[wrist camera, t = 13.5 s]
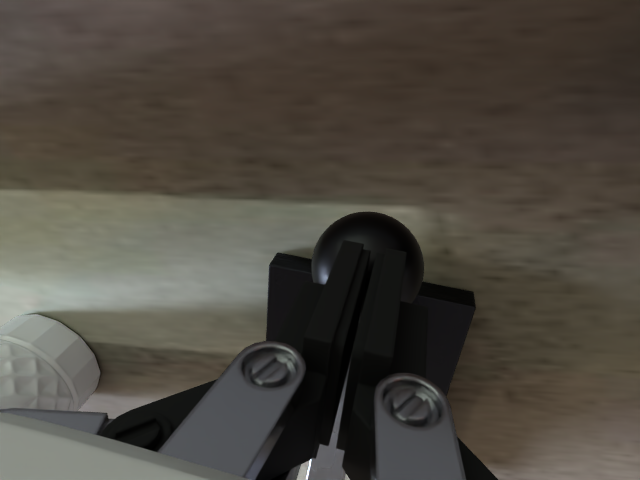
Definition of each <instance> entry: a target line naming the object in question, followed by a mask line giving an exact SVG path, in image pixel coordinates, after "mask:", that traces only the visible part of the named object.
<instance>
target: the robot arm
mask: <svg viewBox="0 0 640 480" xmlns="http://www.w3.org/2000/svg"><path fill="white" fill-rule="evenodd" d="M363 248H364V244H362V243H357V242H352V241H347V240H343V242H342V245H341V247H340V250H339V252H338V254H337V257H336V259H335V262H334V264H333V267H332V269H331V271H330V274H329V276H328V279H327V281H326V284H325V285H324V284H319V283H314V282H310V281H304V282H303V284H302V286H301V288H300V290H299V292H298V294H297V296H296V298H295V300H294V302H293V304H292V306H291V308H290V310H289V312H288V314H287V316H286V318H285V320H284V322H283V324H282V326H281V328H280V330H279V332H278V334H277V336H276V338H275V340H274V341H263V342H259V343H254V344H252V345H250V346H248V347H246V348H245V349H244V350H243V351H241V352H240V353H239V354H238V355H237V357H236V358H235V359H234V360H233V361H232V363H231V364H230V365H229V366H228V367H227V369H226V370H225V371H224V372H223V373H222V375H221V376H220V377H219V378H218V379H217V380H214V381H211V382H208V383H205V384H203V385H200V386H197V387H194V388H191V389H189V390H186V391H183V392H180V393H177V394H175V395H172V396H169V397H166V398H163V399H161V400H158V401H155V402H152V403H150V404H147V405H144V406H141V407H138V408H136V409H133V410H130V411H128V412H126V413H124V414H122V415H120V416H118V417H117V418H116V419H108V415H107V413H99V412H80V411H62V410H43V409H25V408H9V409H0V480H292V479H293V477H294V473H295V470H296V467H297V466H298V465H300V464H302V463H304V462H306V461H308V460H310V459H312V458H314V459H316V457H317V453H318V449H319V446H320V444H321V445H325V446H329V443H330V439H331V435H332V431H333V427H334V423H335V419H336V415H337V411H338V407H339V403H340V399H341V395H342V391H343V387H344V383H345V379H346V375H347V371H348V367H349V363H350V367H349V373H348V379H347V385H346V391H345V397H344V403H343V409H342V415H341V421H340V427H339V433H338V439H337V445H336V449H340V450H343V451H344V457H343V462H342V468H343V469H344V471H345V472H346V474H347V475H348V477H349V478H350V480H498V479H497V478H496V477H495V476H494V475H493V474H492V473H491V472H490V471H489V470H488V469H487V467H486V466H485V465H484V464H483V463H482V462H481V461H480V460H479V459H478V458H477V457H476V456H475V455H474V454H473V453H472V452H471V451H470V450H469V449H468V448H467V446H466V445H465V444H464V443H463V442H462V441H461V440H460V439H459V438H458V437H457V435H456V430H455V426H454V421H453V416H452V412H451V407H450V404H449V402H448V399H447V397H446V396H445V394H444V393H443V392H442V390H441V389H440V388H439V387H438V386H436V385H435V384H434V383H433V382H431V381H430V380H428V379H426V360H427V330H428V307H427V306H422V305H417V304H413V303H408V302H403V301H400V300H401V293H402V285H403V277H404V269H405V262H406V254H407V252H403V251H398V250H393V249H388V248H386V251H385V253H380V252H377V254H376V258H375V262H374V266H373V270H372V274H371V278H370V282H369V286H368V290H367V294H366V298H365V302H364V306H363V310H362V313H361V317H360V311H361V306H362V300H363V294H364V288H365V282H366V276H367V270H368V265H369V259H370V252H371V251H370V250H365V249H363ZM359 317H360V321H359ZM358 323H359V325H358ZM351 355H352V356H351ZM350 359H351V361H350Z"/></svg>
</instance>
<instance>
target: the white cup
mask: <svg viewBox="0 0 640 480" xmlns="http://www.w3.org/2000/svg"><path fill="white" fill-rule="evenodd" d="M100 373H101V372H100V369H99V366H98V363H97V360H96V357H95V355H94V353H93V352H92V351H91V349H90V348H89V347H88V346H87V344H86V343H85V342H84V341H83V340H82V338H81V337H80V336H79V335H77V334H76V333H75V332H73V331H72V330H71V329H69V328H68V327H66V326H65V325H63V324H62V323H60V322H59V321H56V320H53V319H50V318H47V317H44V316H41V315H38V314H30V315H18V316H16V317H14V318H13V319H11V320H10V321H8V322H7V323H5V324H4V325H2V326H1V327H0V409H9V408H25V409H43V410H62V411H78V410H79V409H80V408H81V406H82V405H83V404H84V403H85V402H86V400H87V399H88V398H89V397H90V396H91V394H92V393H93V392H94V391H95V389H96V388H97V385H98V381H99V377H100Z"/></svg>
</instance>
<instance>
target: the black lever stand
mask: <svg viewBox="0 0 640 480" xmlns="http://www.w3.org/2000/svg"><path fill="white" fill-rule="evenodd" d="M311 263H312V259H307V258H302V257H297V256H292V255H288V254H283V253H277V254H276V255H275V257H274V258H273V260H272V262H271V263H270V265H269V282H268V307H267V332H266V341H274V340H275V338H276V336H277V334H278V332H279V330H280V328H281V326H282V324H283V322H284V320H285V318H286V316H287V314H288V312H289V310H290V308H291V306H292V304H293V302H294V300H295V298H296V296H297V294H298V292H299V290H300V288H301V286H302V284H303V282H304V281H310V282H313V279H312V271H311ZM412 303H413V304H417V305H422V306H427V307H428V330H427V360H426V379H428V380H430V381H431V382H433V383H434V384H435V385H436V386H438V387H439V388H440V389H441V390H442V392H443V393H444V394H445V396H447V393H448V390H449V387H450V383H451V380H452V377H453V374H454V371H455V368H456V365H457V362H458V359H459V356H460V353H461V350H462V347H463V344H464V341H465V338H466V335H467V332H468V329H469V326H470V323H471V320H472V317H473V314H474V311H475V308H476V307H475V300H474V293H473V292H471V291H466V290H461V289H456V288H451V287H446V286H441V285H436V284H431V283H427V282H422V285H421V288H420V290H419V293H418V294H417V296H416V298H415V300H414V301H413V302H412ZM300 466H301V464H300V465H298V466H297V467H296V470H295V473H294V477H293V479H292V480H296V479H297V476H298V473H299V469H300Z"/></svg>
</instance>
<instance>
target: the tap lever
mask: <svg viewBox="0 0 640 480" xmlns="http://www.w3.org/2000/svg"><path fill="white" fill-rule="evenodd" d="M343 240H347V241H352V242H357V243H362V244H364V248H363V249H365V250H370V251H371V252H370V259H369V265H368V270H367V276H366V282H365V288H364V294H363V300H362V306H361V311H360V317H361V313H362V310H363V306H364V302H365V298H366V294H367V290H368V286H369V282H370V278H371V274H372V270H373V266H374V262H375V258H376V254H377V252H380V253H385V251H386V248H388V249H393V250H398V251H403V252H407V254H406V262H405V269H404V277H403V285H402V293H401V300H400V301H403V302H408V303H412V302H413V301H414V300H415V298H416V296H417V294H418V293H419V290H420V288H421V285H422V281H423V275H424V261H423V255H422V252H421V249H420V246H419V244H418V242H417V240H416V239H415V237H414V235H413V234H412V233H411V232H410V230H409V229H408V228H406V227H405V226H404V225H403V224H402V223H400V222H399V221H398V220H396V219H394V218H392V217H390V216H388V215H385V214H381V213H377V212H358V213H353V214H350V215H347V216H345V217H342V218H340V219H339V220H337V221H335V222H334V223H333V224H332V225H330V226H329V227H328V228H327V229H326V230H325V231H324V233H323V234H322V235H321V237H320V238H319V240H318V242H317V244H316V247H315V249H314V252H313V256H312V263H311V271H312V279H313V282H314V283H319V284H324V285H325V284H326V281H327V279H328V276H329V274H330V271H331V269H332V267H333V264H334V262H335V259H336V257H337V254H338V252H339V250H340V247H341V245H342V242H343ZM360 317H359V321H360ZM358 325H359V323H358ZM351 356H352V355H351ZM350 361H351V359H350ZM349 367H350V363H349ZM349 367H348V371H347V375H346V379H345V383H344V387H343V391H342V395H341V399H340V403H339V407H338V411H337V415H336V419H335V423H334V427H333V431H332V435H331V439H330V443H329V446H325V445H321V444H320V446H319V449H318V453H317V457H316V459H314V458H312V459H310V462H309V467H308V472H307V477H306V480H344V479H345V474H346V472H345V471H344V469H343V468H342V462H343V457H344V451H343V450H340V449H336V445H337V439H338V433H339V427H340V421H341V415H342V409H343V403H344V397H345V391H346V385H347V379H348V373H349Z"/></svg>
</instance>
